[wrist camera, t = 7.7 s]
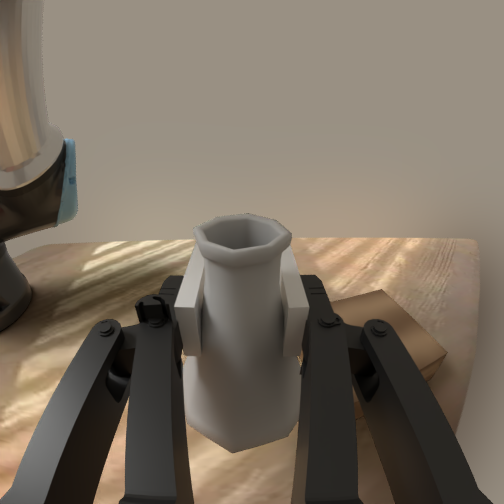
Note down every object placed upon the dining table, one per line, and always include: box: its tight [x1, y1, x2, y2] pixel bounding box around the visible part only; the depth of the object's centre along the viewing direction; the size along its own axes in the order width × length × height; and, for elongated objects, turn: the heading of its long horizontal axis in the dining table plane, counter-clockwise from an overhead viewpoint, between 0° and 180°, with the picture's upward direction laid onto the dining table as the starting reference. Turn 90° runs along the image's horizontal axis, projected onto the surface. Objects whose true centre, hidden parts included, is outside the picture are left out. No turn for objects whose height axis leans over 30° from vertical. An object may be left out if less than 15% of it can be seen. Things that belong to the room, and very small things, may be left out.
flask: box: [183, 213, 301, 453], centre depth 12 cm, size 7×7×10 cm
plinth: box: [299, 289, 447, 419], centre depth 25 cm, size 12×12×4 cm
